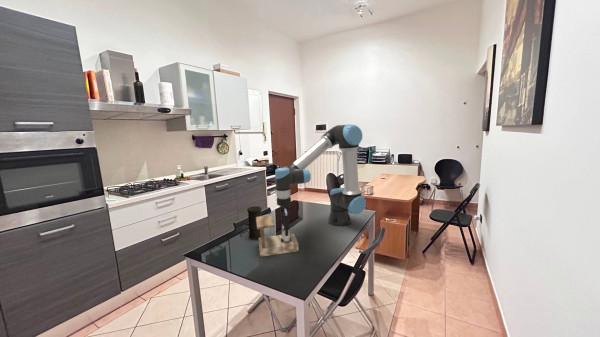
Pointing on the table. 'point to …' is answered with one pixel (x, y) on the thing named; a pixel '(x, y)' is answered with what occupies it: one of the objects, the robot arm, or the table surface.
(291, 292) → the table surface
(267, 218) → the socket station
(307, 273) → the table surface
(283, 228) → the peg
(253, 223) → the container
